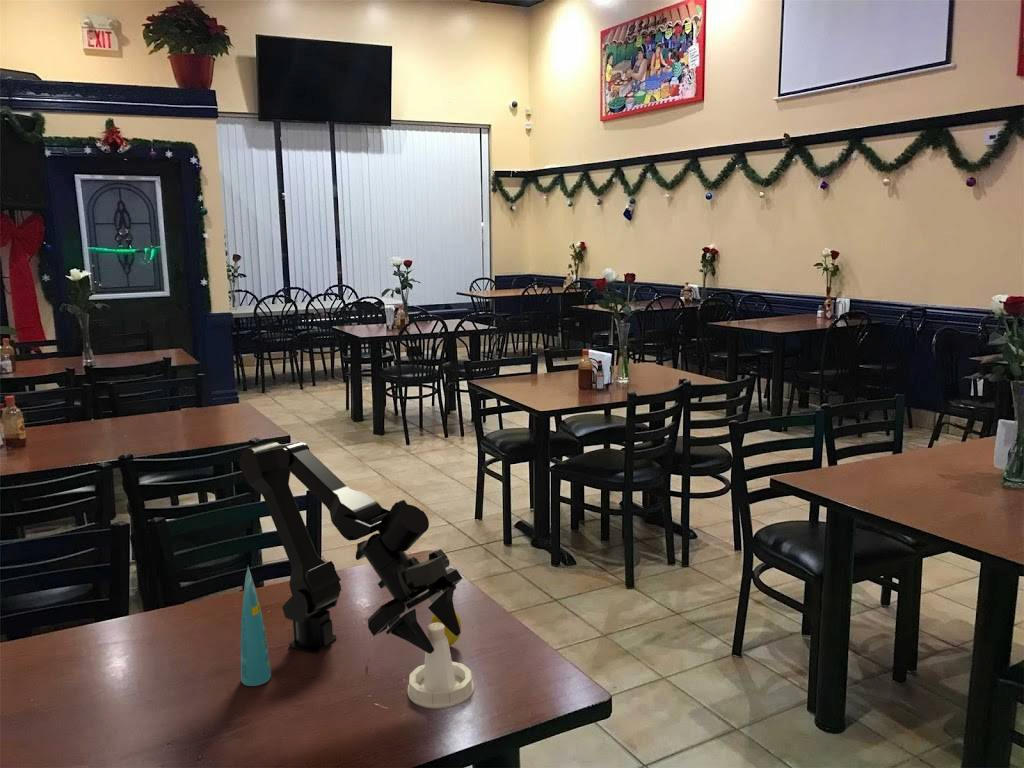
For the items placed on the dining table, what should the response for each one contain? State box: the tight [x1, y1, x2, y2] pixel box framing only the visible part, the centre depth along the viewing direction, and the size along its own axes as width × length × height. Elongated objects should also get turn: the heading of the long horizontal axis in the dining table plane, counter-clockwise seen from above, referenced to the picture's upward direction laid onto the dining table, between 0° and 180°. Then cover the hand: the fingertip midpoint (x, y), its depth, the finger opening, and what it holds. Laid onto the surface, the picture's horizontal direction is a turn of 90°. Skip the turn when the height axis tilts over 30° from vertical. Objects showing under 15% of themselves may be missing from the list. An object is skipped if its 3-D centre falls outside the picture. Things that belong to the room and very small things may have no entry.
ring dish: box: [407, 660, 475, 710], centre depth 134 cm, size 11×11×2 cm
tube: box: [240, 565, 272, 687], centre depth 137 cm, size 7×5×19 cm, turn 26°
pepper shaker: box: [424, 622, 456, 691], centre depth 133 cm, size 5×5×11 cm
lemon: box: [430, 611, 462, 647], centre depth 148 cm, size 6×6×8 cm
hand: (445, 643), depth 132 cm, fingers open, 7 cm apart
